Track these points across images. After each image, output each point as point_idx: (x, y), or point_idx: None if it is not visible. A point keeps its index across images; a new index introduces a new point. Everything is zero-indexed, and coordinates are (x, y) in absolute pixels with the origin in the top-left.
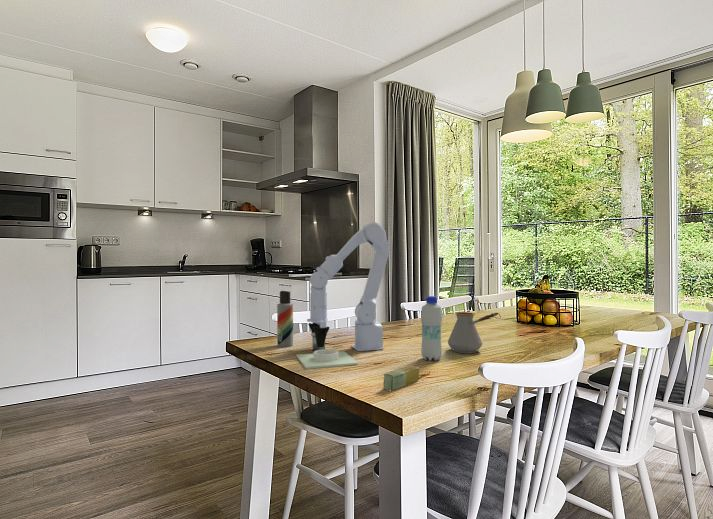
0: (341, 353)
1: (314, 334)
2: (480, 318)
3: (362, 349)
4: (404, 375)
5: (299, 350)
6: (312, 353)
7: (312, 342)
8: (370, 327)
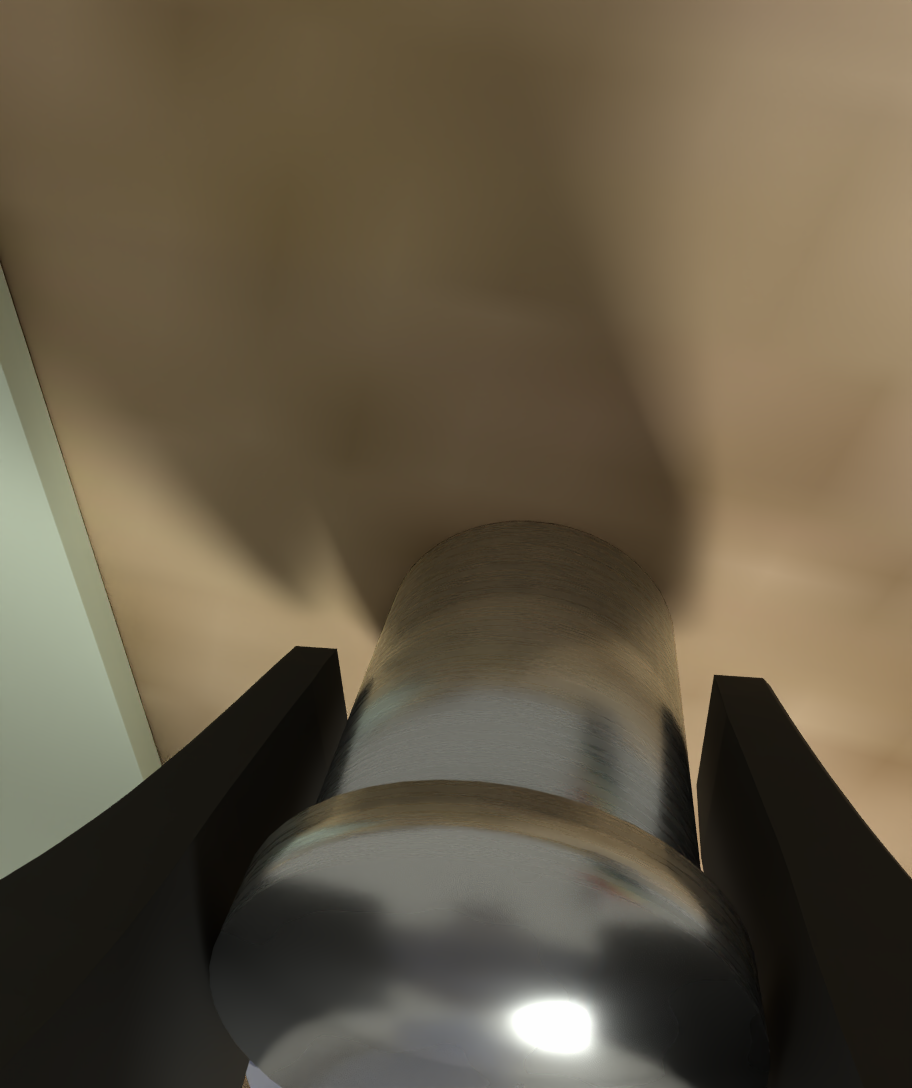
0: (25, 839)
1: (270, 876)
2: None
3: (256, 1077)
4: None
5: (660, 189)
6: (19, 428)
7: (524, 640)
8: None
